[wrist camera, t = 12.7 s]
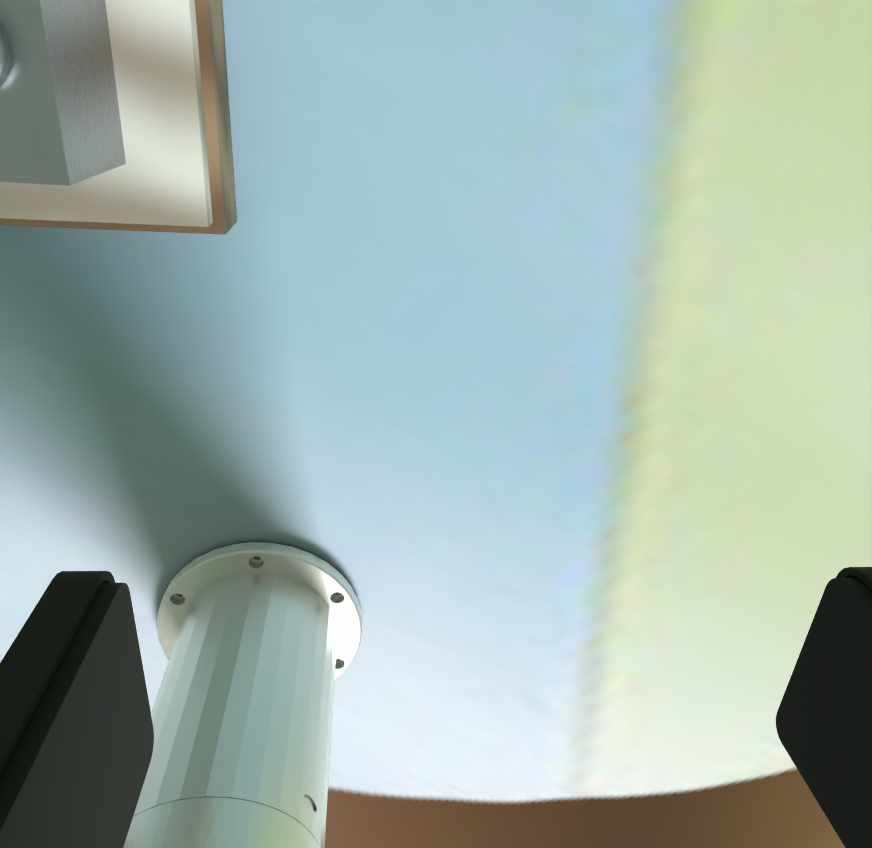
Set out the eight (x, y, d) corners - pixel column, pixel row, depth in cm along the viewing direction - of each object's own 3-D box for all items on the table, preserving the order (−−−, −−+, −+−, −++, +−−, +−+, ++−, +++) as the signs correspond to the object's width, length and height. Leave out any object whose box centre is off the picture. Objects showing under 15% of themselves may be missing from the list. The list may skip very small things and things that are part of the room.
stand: (236, 221, 34) (221, 239, 30) (-27, 210, 33) (-76, 227, 29) (212, -142, 28) (189, -174, 24) (-115, -173, 26) (-191, -211, 23)
